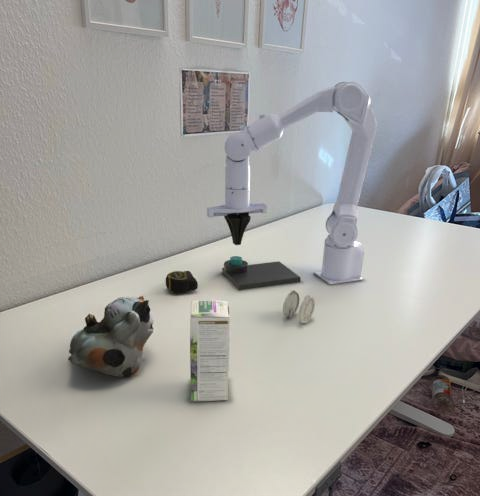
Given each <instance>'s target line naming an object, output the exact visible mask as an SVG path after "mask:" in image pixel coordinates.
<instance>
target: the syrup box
mask: <svg viewBox="0 0 480 496" xmlns="http://www.w3.org/2000/svg"><path fill="white" fill-rule="evenodd" d="M229 304H230V303H229V302H228V301H227V300H217V299H204V300H203V299H199V300H191V303H190V320H189V322H190V324H189V325H190V326H189V327H190V328H189V367H190V370H189V371H190V401H191V402H213V401H228V400H229V371H230V341H231V340H230V339H231V338H230V336H231V334H230V333H231V322H230V321H231V314H230V312H231V311H230V305H229Z"/></svg>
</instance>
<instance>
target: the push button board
mask: <svg viewBox="0 0 480 496" xmlns="http://www.w3.org/2000/svg"><path fill="white" fill-rule="evenodd" d="M221 274H223V276H224V277H226V279H227V280H228V281H229V282H230V283H231V284H232V285H233V286H234V287H235V288H236V289H237V290H238V291H246V290H252V289H259V288H267V287H275V286H282V285H288V284H297V283H301V276H300V275H299V274H297V273H296V272H294V271H293V270H292V269H290V268H289V267H287V266H286V265H285V264H284V263H282V262H281V261H271V262H262V263H254V264H249V262H248V261H246V260H243V259H242V265H240V266H233V265H230V259H228V260H225V261H224V263H223V267H221Z"/></svg>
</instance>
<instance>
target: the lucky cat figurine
mask: <svg viewBox="0 0 480 496" xmlns="http://www.w3.org/2000/svg"><path fill="white" fill-rule="evenodd" d="M144 297H145V296H143V295H140V296H138V297H135V296H120V297H118V298H115V299H114V300H113V301H111V302H110V303H108V304H107V305H106V306H105V307H104V312H103V318H102V319H101V320H100V321H99V322H98V321H97V318H96V316H95V314H91V313H88V314H87V315H86V317H85V318H84V321H85V326H84V327H83V329H80V330H78V331H77V332H76V333H75V334H74V335H73V336H72V338H71V340H70V343H69V349H68V353H69V354H70V355H69V356H68V362H70V363H71V364H74V365H76V366H79V367H83V368H87V369H90V370H93V371H98V372H101V373H103V374H105V375H107V376H113V377H121V378H123V377H125V376H126V375H127V376H128V377H131V376H134V375H135V374H136V373H137V372H138V371H139V368H140V365H141V364H142V362H143V350H144V346H145V345H146V343H147V342H148V340H149V339H150V337H151V335H152V334H153V333H154V327H153V324H154V315H153V313H152V312H151V308H150V305H149V303H150V300H149V299H145V298H144Z"/></svg>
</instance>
